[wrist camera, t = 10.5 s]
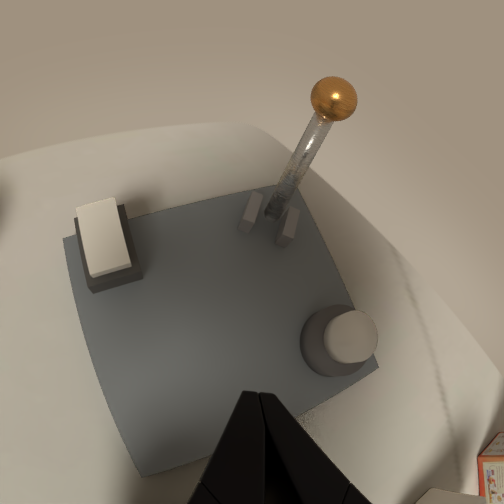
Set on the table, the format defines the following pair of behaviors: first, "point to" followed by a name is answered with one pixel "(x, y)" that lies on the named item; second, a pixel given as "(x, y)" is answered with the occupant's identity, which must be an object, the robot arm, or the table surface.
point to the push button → (350, 337)
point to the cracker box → (492, 471)
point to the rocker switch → (102, 237)
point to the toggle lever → (312, 138)
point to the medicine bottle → (449, 498)
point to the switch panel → (210, 321)
